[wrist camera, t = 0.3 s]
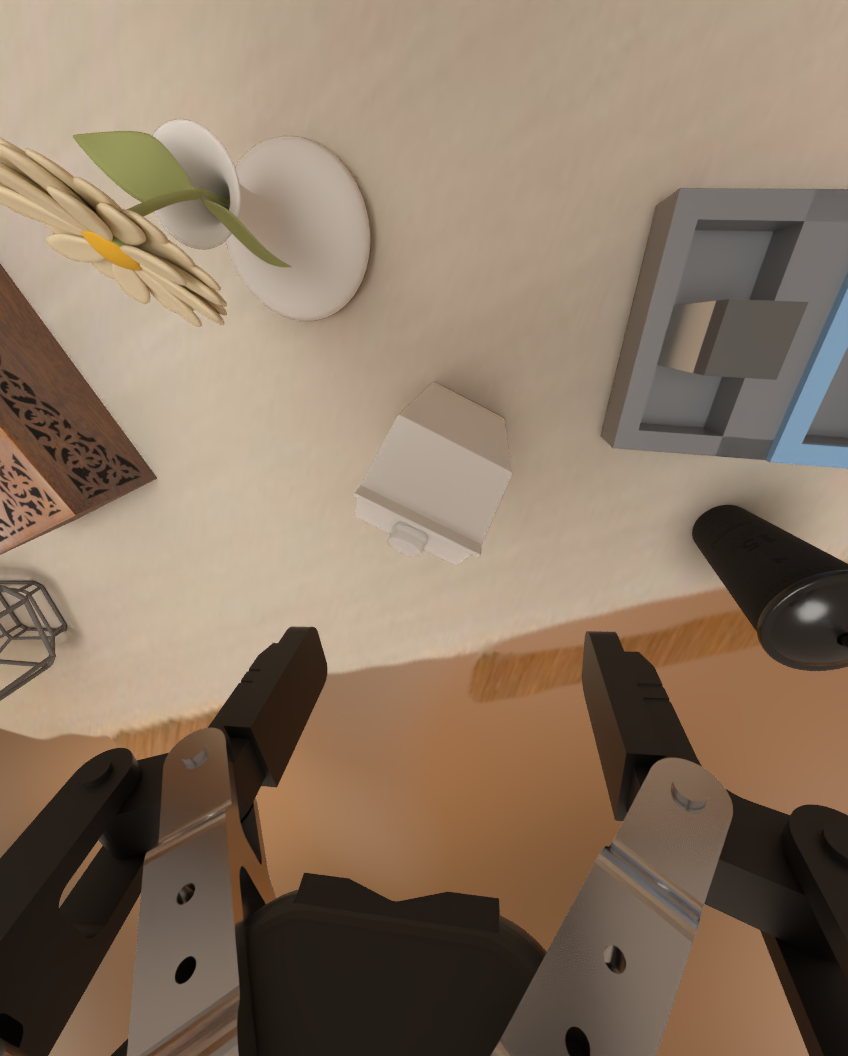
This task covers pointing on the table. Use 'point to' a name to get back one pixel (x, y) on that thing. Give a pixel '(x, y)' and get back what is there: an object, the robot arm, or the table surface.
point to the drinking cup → (780, 587)
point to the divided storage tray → (748, 274)
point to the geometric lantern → (53, 632)
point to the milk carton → (438, 477)
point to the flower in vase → (203, 217)
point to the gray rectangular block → (731, 337)
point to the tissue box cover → (52, 432)
